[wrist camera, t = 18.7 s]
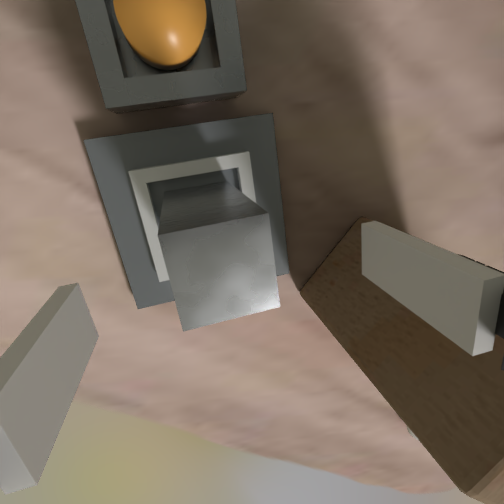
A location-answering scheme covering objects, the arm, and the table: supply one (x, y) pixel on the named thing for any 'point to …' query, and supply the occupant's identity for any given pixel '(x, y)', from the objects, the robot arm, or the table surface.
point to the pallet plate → (178, 177)
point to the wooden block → (418, 370)
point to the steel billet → (217, 254)
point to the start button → (162, 29)
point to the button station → (157, 80)
